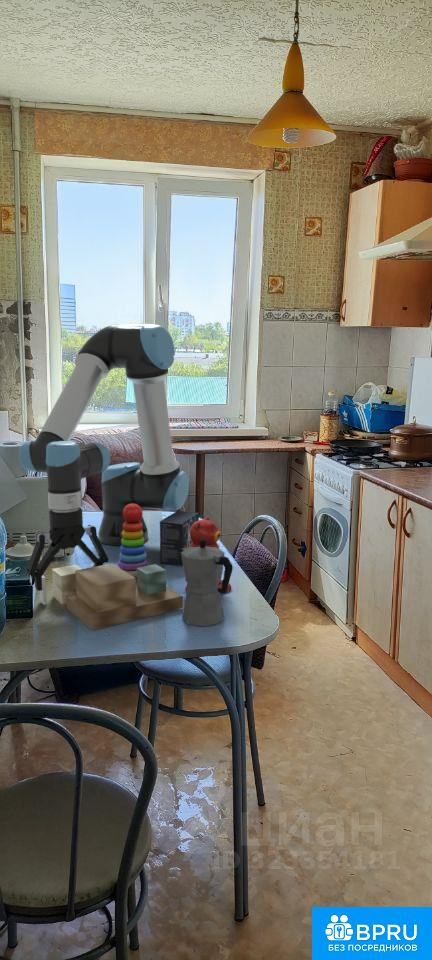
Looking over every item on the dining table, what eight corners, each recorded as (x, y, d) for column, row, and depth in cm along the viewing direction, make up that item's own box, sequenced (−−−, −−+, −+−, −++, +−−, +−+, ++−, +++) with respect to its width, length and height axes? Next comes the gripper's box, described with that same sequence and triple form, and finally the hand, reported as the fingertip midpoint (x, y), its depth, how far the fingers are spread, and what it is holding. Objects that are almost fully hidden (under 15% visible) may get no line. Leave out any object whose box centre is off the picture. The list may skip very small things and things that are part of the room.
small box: (182, 566, 187) (182, 523, 184) (159, 564, 189) (158, 521, 187) (199, 552, 199) (199, 511, 197) (177, 550, 201) (176, 510, 199)
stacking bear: (210, 602, 161) (210, 528, 158) (175, 594, 166) (173, 522, 163) (234, 588, 170) (234, 517, 167) (200, 581, 175) (199, 512, 172)
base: (152, 588, 170) (151, 553, 168) (183, 608, 158) (182, 570, 156) (66, 607, 158) (64, 570, 156) (92, 630, 146) (90, 589, 144)
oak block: (77, 592, 168) (75, 564, 167) (86, 599, 164) (85, 571, 162) (53, 597, 165) (51, 569, 164) (62, 604, 160) (60, 576, 159)
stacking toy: (143, 580, 176) (141, 508, 172) (113, 578, 178) (110, 507, 174) (152, 570, 184) (150, 501, 180) (123, 568, 185) (121, 500, 182)
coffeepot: (167, 615, 154) (165, 537, 150) (199, 604, 160) (198, 529, 156) (215, 636, 142) (214, 552, 139) (247, 624, 149) (247, 543, 145)
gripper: (18, 519, 150) (24, 613, 155) (120, 505, 163) (123, 591, 168) (7, 512, 157) (13, 602, 161) (107, 499, 170) (110, 582, 174)
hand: (69, 597), depth 164 cm, fingers open, 12 cm apart
